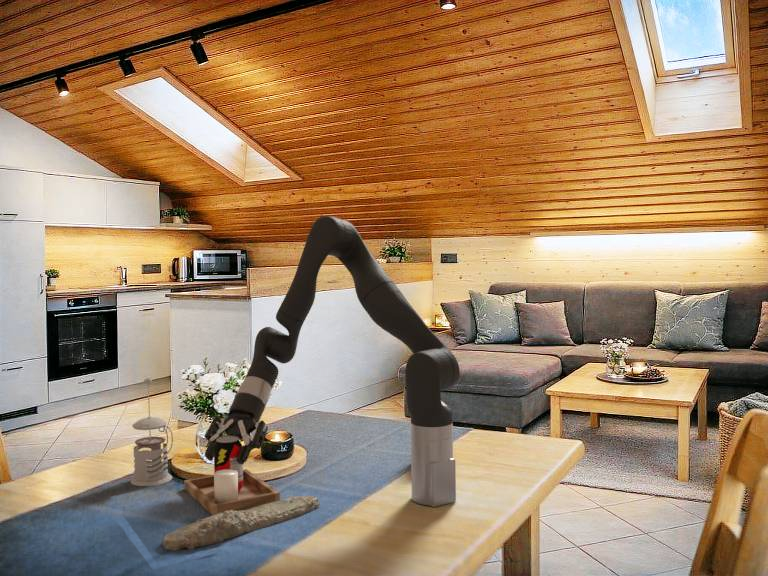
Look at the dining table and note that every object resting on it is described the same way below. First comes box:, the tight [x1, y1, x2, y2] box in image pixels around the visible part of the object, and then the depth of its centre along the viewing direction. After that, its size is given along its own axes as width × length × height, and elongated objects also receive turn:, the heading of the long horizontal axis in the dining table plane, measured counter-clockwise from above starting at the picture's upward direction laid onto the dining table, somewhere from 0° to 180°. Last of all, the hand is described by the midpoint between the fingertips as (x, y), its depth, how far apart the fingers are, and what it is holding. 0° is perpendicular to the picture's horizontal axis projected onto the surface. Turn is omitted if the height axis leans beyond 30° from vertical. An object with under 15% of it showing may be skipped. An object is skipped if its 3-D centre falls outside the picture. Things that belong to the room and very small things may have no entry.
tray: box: [183, 468, 281, 516], centre depth 164 cm, size 20×15×3 cm
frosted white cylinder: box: [213, 469, 238, 504], centre depth 158 cm, size 5×5×7 cm
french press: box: [130, 377, 174, 487], centre depth 179 cm, size 10×12×25 cm
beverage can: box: [213, 436, 244, 491], centre depth 167 cm, size 6×6×12 cm
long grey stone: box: [162, 495, 321, 552], centre depth 148 cm, size 35×5×10 cm
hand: (223, 460), depth 166 cm, fingers open, 8 cm apart
